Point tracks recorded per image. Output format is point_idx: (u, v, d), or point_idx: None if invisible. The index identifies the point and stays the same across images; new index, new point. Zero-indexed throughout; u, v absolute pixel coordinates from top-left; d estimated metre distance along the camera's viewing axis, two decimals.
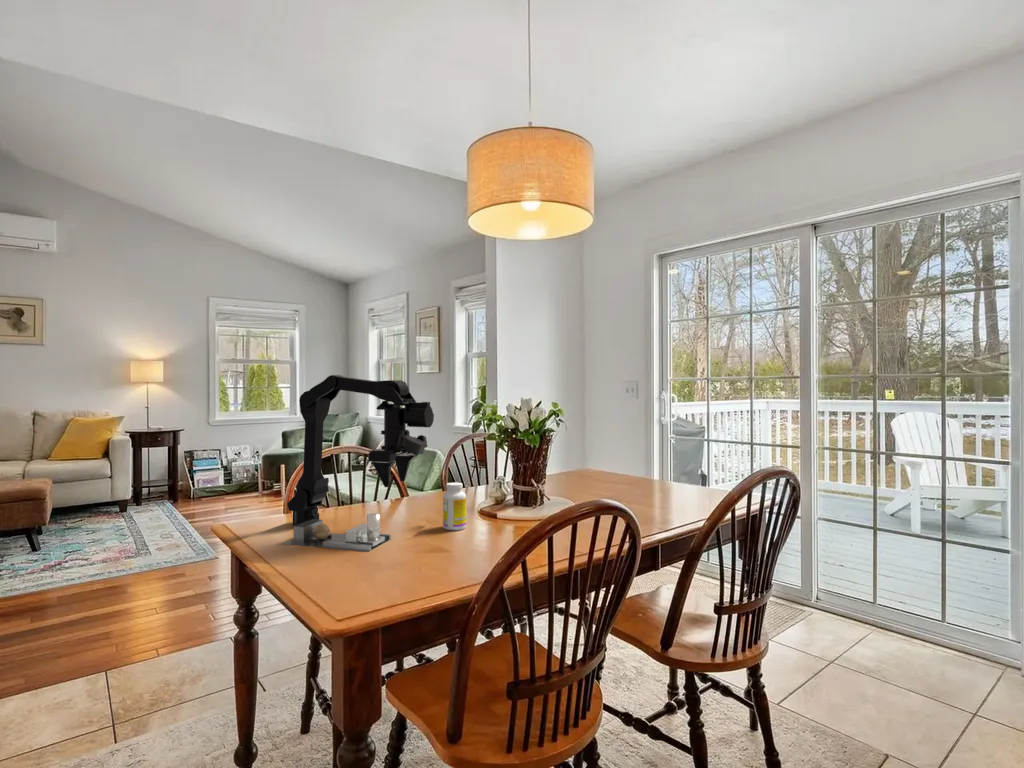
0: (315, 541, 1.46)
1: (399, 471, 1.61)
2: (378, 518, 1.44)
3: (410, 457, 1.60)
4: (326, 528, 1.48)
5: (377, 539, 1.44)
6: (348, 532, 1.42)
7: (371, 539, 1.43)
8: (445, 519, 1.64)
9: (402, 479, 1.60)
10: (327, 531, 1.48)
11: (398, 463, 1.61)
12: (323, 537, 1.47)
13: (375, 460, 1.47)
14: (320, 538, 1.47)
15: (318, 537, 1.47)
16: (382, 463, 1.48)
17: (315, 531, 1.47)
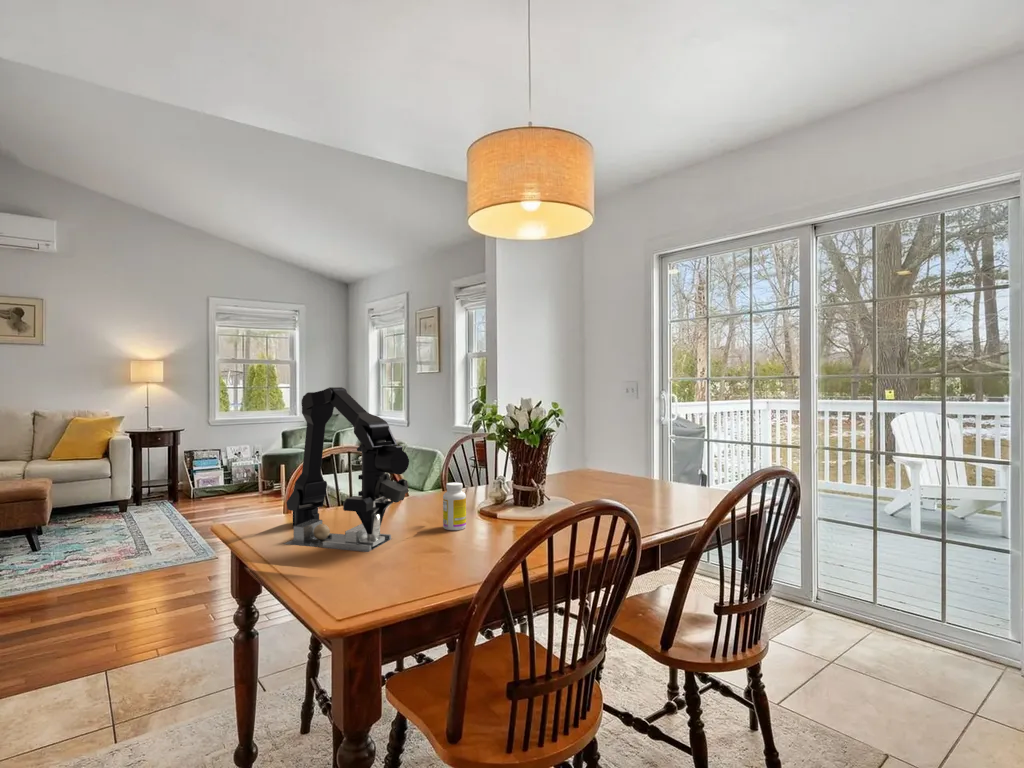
0: (315, 541, 1.46)
1: None
2: (378, 518, 1.44)
3: (385, 504, 1.46)
4: (326, 528, 1.48)
5: (377, 539, 1.44)
6: (348, 532, 1.42)
7: (371, 539, 1.43)
8: (445, 519, 1.64)
9: None
10: (327, 531, 1.48)
11: None
12: (323, 537, 1.47)
13: (350, 509, 1.36)
14: (320, 538, 1.47)
15: (318, 537, 1.47)
16: None
17: (315, 531, 1.47)
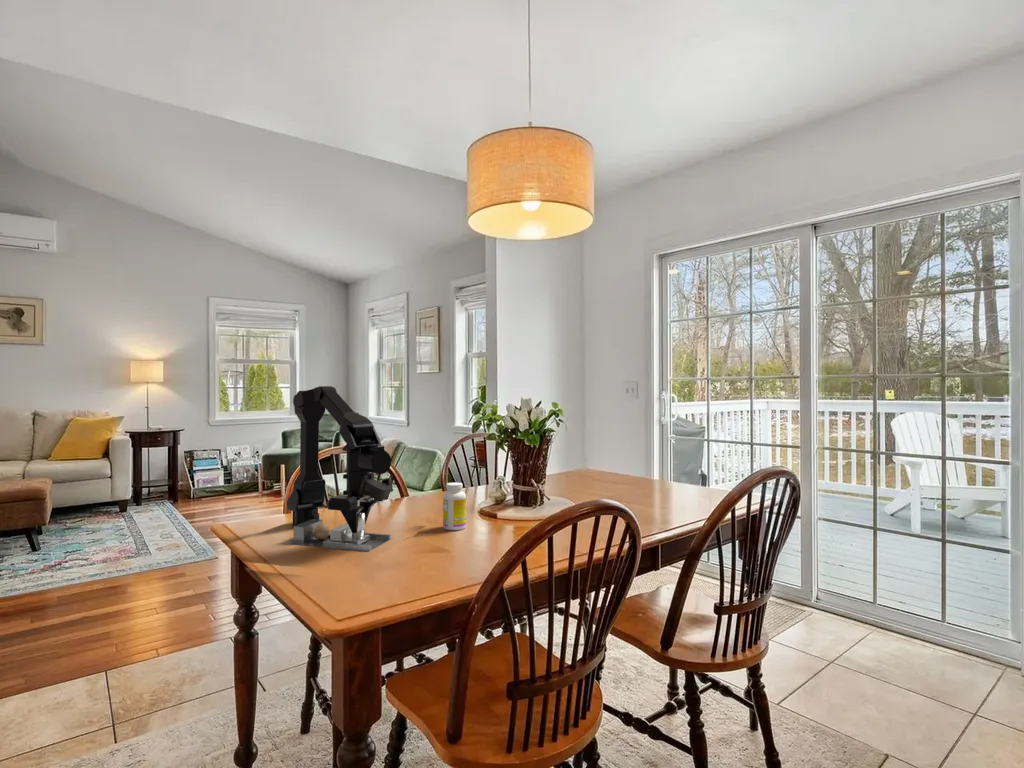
0: (315, 541, 1.46)
1: None
2: (363, 517, 1.45)
3: (370, 503, 1.47)
4: (326, 528, 1.48)
5: (362, 538, 1.45)
6: (333, 531, 1.43)
7: (356, 538, 1.44)
8: (445, 519, 1.64)
9: None
10: (327, 531, 1.48)
11: None
12: (323, 537, 1.47)
13: (334, 508, 1.37)
14: (320, 538, 1.47)
15: (318, 537, 1.47)
16: None
17: (315, 531, 1.47)
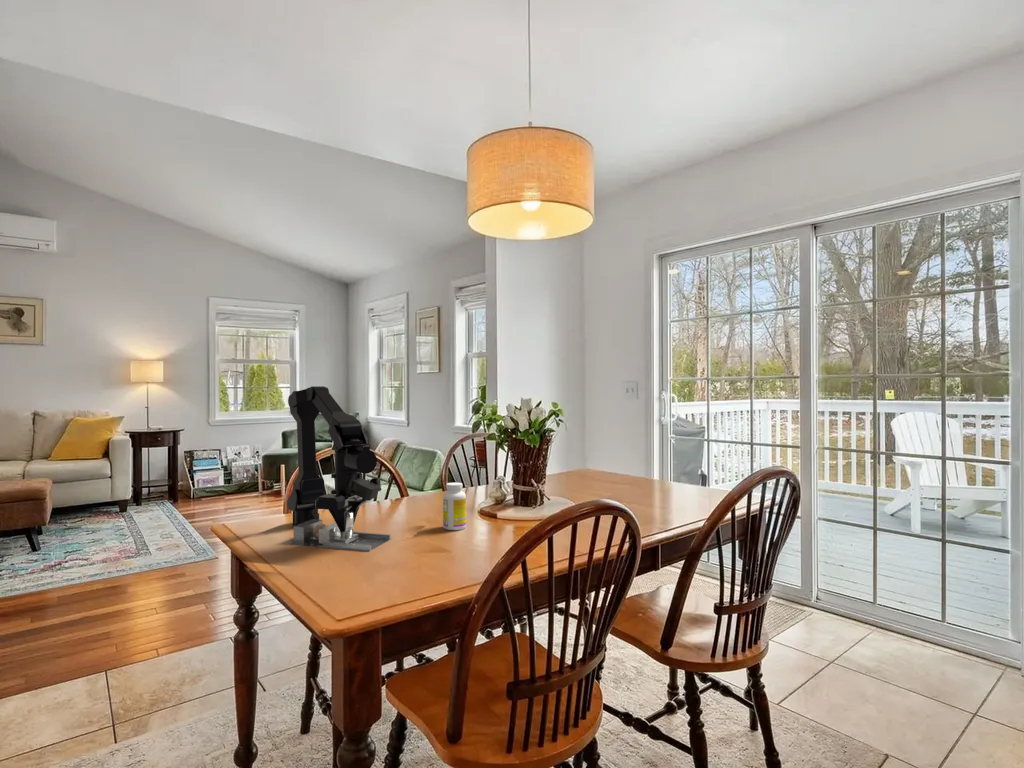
0: (315, 541, 1.46)
1: None
2: (351, 516, 1.46)
3: (358, 502, 1.48)
4: None
5: (350, 537, 1.46)
6: (321, 530, 1.44)
7: (344, 537, 1.45)
8: (445, 519, 1.64)
9: None
10: None
11: None
12: None
13: (322, 507, 1.38)
14: None
15: (318, 537, 1.47)
16: None
17: (314, 531, 1.47)
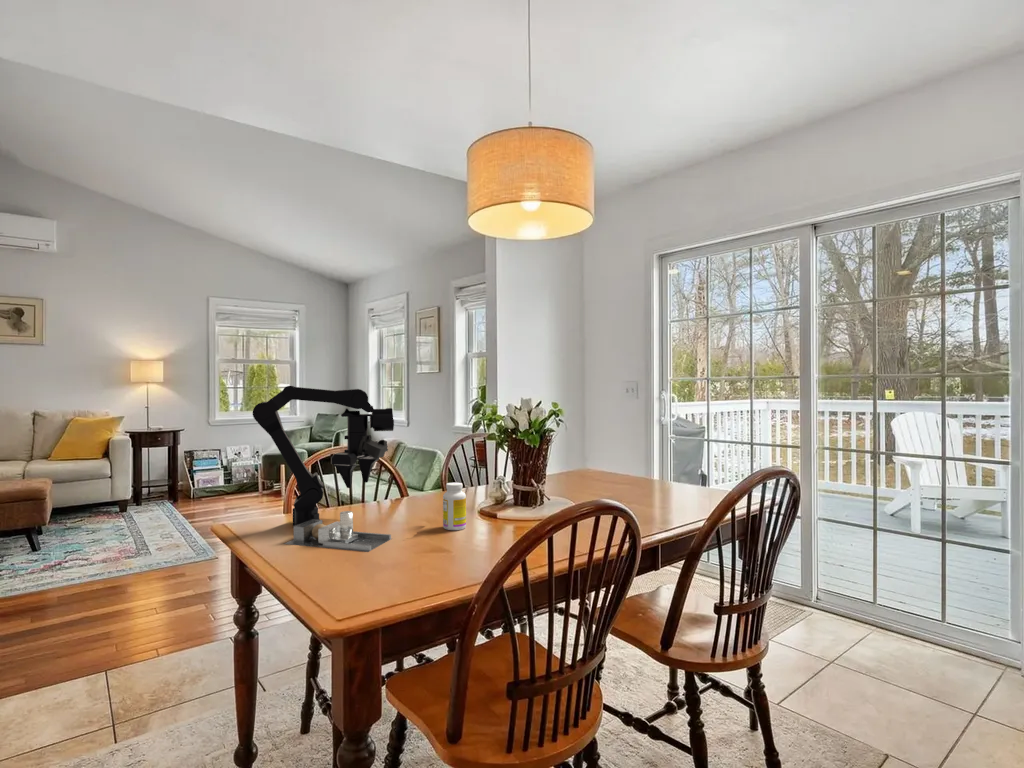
0: (315, 541, 1.46)
1: (362, 473, 1.73)
2: (351, 516, 1.46)
3: (372, 460, 1.73)
4: (323, 526, 1.48)
5: (350, 537, 1.46)
6: (321, 530, 1.44)
7: (344, 537, 1.45)
8: (445, 519, 1.64)
9: (365, 480, 1.73)
10: None
11: (361, 466, 1.73)
12: None
13: (337, 463, 1.59)
14: None
15: (317, 537, 1.47)
16: (344, 466, 1.60)
17: (313, 531, 1.47)
